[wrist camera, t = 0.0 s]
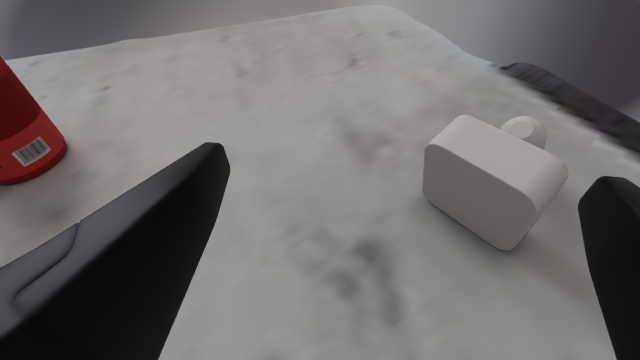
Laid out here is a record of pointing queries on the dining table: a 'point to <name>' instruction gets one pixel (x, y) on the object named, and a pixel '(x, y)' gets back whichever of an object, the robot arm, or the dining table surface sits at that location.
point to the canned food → (24, 132)
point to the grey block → (492, 176)
